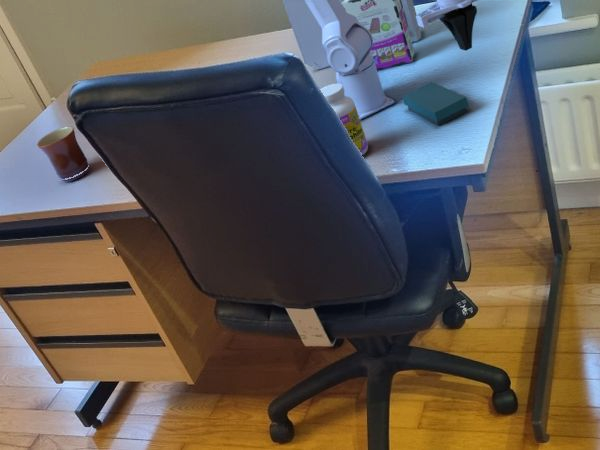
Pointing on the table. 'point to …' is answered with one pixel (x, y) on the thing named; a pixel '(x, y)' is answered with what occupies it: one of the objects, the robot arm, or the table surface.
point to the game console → (311, 31)
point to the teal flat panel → (435, 103)
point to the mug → (64, 153)
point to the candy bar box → (384, 30)
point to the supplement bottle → (346, 114)
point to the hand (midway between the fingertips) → (466, 48)
